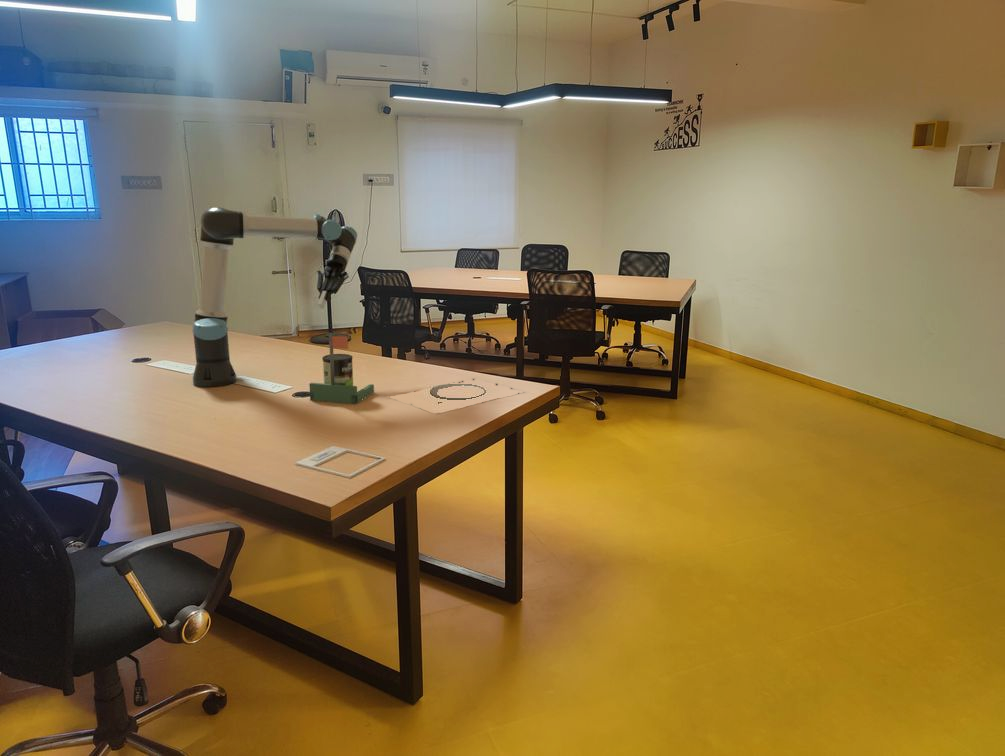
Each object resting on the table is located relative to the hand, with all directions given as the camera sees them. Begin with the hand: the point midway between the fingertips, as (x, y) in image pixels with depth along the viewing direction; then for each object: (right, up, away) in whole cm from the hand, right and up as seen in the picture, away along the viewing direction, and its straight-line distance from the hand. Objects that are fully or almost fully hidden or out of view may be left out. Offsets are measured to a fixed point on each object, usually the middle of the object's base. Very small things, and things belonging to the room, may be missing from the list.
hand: (320, 306), depth 255 cm
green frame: (+14, -34, -20) cm, 42 cm away
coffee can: (+12, -34, -19) cm, 41 cm away
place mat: (+54, -35, -15) cm, 66 cm away
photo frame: (+28, -51, -81) cm, 99 cm away
